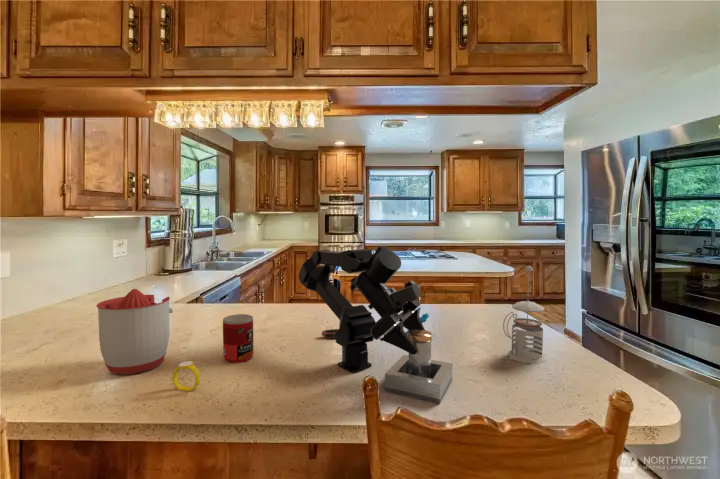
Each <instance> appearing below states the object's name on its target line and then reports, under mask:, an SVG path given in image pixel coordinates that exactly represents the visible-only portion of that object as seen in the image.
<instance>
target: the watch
mask: <svg viewBox="0 0 720 479" xmlns="http://www.w3.org/2000/svg"><path fill="white" fill-rule="evenodd" d="M193 362H194V361H190V360H189V361H187V360H186V361H183V362H180V363H179V364H178V366H177V367H176V368H175V369H174V370H173V372H172V374H171V375H172V382H173V386H174V387H175V388H176V389H177V390H178V391H184V392H192V391H194V390H195V389H196V388H197V387H198V386H200V382H201V372H200V370H199V369H198V368H197V367H196V366H195V365H194V363H193ZM186 369H187V370H188V369H189V370H190V371H192V373H193V375H194V377H195V378H194V379H195V383H194V385H193V387H192V386H184V385H182V383H180V380H179V378H178V376H179V375H178V374H179V371H180V370H186Z"/></svg>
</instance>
